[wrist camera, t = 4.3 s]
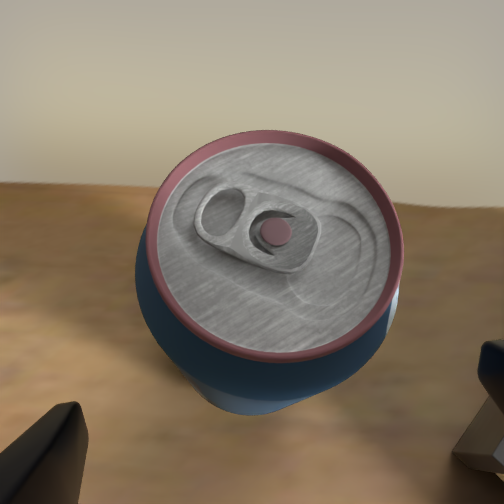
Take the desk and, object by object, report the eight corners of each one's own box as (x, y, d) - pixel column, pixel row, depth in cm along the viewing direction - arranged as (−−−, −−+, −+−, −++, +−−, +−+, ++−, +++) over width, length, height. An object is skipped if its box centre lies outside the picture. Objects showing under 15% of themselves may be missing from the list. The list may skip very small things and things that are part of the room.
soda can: (334, 308, 20) (457, 167, 9) (289, 442, 17) (390, 464, 6) (217, 259, 21) (204, 77, 10) (155, 378, 18) (45, 303, 7)
